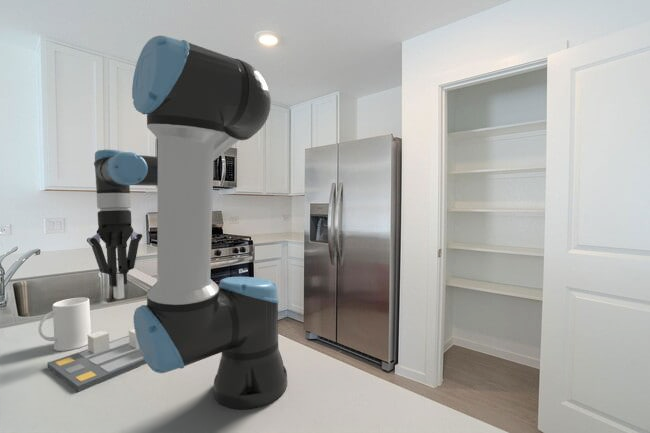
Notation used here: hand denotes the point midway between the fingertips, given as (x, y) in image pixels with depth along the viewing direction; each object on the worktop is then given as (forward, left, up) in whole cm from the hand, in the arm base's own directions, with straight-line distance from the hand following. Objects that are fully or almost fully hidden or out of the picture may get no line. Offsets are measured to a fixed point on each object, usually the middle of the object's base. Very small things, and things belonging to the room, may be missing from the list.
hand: (119, 297), depth 88 cm
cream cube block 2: (-5, -2, -12) cm, 14 cm away
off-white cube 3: (+1, +5, -12) cm, 13 cm away
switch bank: (-5, +4, -14) cm, 15 cm away
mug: (+14, +8, -14) cm, 21 cm away
